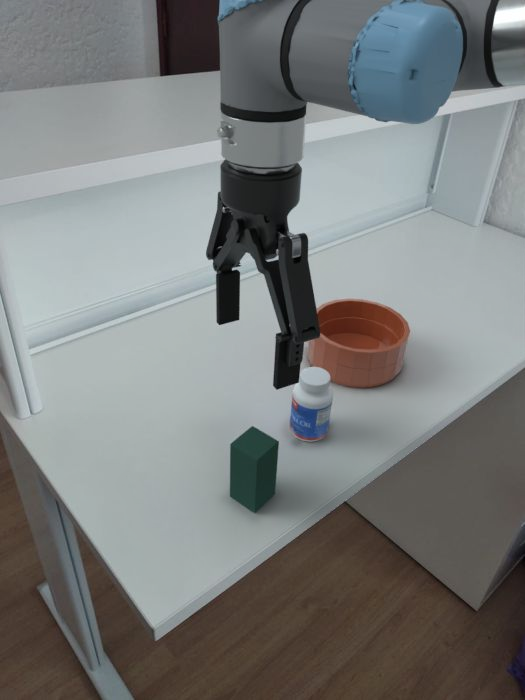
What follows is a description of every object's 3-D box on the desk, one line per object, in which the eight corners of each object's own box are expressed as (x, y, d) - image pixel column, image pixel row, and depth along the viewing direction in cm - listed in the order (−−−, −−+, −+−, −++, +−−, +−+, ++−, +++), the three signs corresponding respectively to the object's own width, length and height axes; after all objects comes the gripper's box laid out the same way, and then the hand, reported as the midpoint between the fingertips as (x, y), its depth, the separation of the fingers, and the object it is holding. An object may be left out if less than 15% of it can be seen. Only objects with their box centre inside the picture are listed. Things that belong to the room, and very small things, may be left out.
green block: (275, 493, 72) (279, 441, 66) (254, 513, 69) (257, 460, 64) (250, 477, 74) (252, 425, 68) (229, 496, 71) (230, 443, 66)
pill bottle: (281, 427, 81) (285, 372, 76) (308, 411, 84) (314, 357, 79) (308, 449, 78) (315, 393, 73) (335, 431, 81) (344, 377, 76)
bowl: (418, 357, 97) (426, 321, 93) (371, 402, 87) (378, 365, 83) (339, 323, 104) (344, 289, 100) (287, 361, 94) (290, 325, 90)
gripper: (171, 130, 60) (180, 306, 72) (299, 216, 43) (282, 428, 55) (236, 123, 63) (234, 293, 75) (379, 200, 46) (347, 405, 58)
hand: (254, 350), depth 65 cm, fingers open, 13 cm apart
